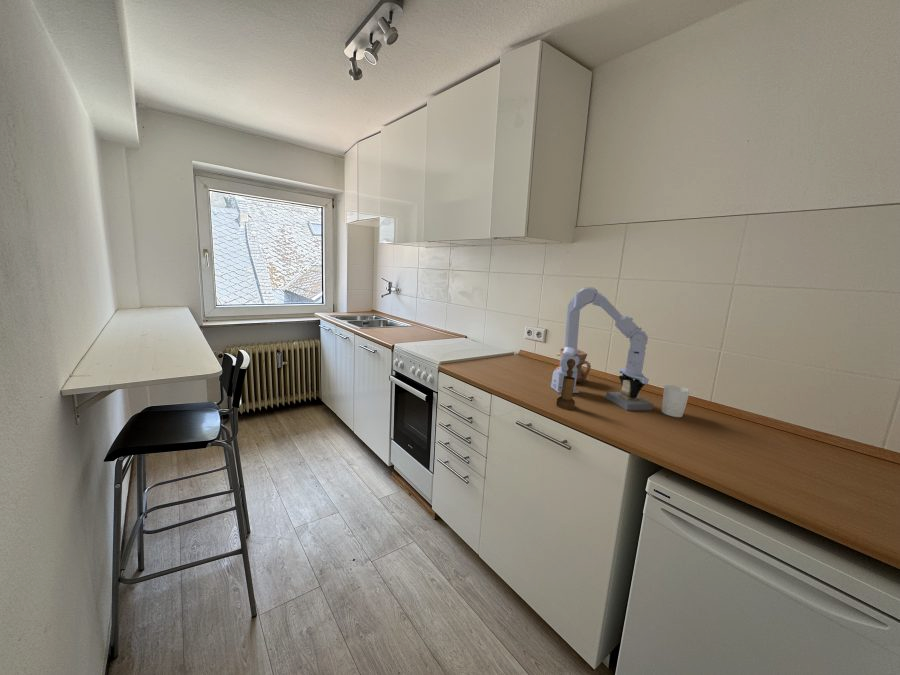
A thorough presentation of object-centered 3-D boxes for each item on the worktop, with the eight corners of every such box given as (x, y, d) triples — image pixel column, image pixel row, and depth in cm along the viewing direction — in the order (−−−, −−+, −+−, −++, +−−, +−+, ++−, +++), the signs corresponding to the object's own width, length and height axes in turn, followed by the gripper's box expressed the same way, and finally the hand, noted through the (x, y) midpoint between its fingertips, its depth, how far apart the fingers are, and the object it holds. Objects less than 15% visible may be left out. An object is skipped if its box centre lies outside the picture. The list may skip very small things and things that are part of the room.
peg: (626, 402, 138) (630, 383, 137) (620, 399, 142) (623, 379, 141) (636, 402, 139) (639, 383, 138) (629, 399, 143) (632, 379, 142)
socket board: (626, 410, 134) (627, 404, 133) (605, 397, 146) (606, 392, 146) (652, 410, 136) (653, 403, 135) (629, 397, 148) (630, 392, 148)
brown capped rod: (575, 410, 130) (582, 362, 127) (557, 408, 131) (563, 360, 128) (573, 404, 136) (579, 358, 133) (555, 401, 137) (561, 356, 134)
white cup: (660, 414, 132) (665, 388, 130) (659, 408, 139) (663, 383, 137) (685, 419, 128) (690, 393, 126) (683, 413, 135) (688, 387, 133)
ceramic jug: (545, 376, 172) (548, 347, 169) (565, 373, 180) (568, 345, 177) (576, 388, 157) (581, 357, 154) (596, 384, 165) (601, 354, 162)
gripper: (658, 367, 132) (651, 402, 134) (631, 357, 146) (626, 389, 148) (641, 367, 130) (635, 402, 133) (616, 357, 144) (611, 389, 147)
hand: (629, 395), depth 140 cm, fingers closed on peg, 4 cm apart
